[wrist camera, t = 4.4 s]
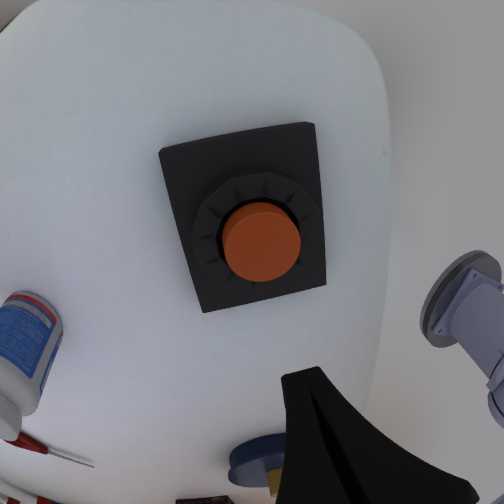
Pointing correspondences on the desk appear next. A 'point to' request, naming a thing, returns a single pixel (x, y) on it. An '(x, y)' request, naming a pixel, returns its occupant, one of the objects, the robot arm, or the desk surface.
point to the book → (44, 501)
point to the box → (207, 500)
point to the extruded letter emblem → (12, 501)
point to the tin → (257, 447)
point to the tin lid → (259, 471)
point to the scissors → (36, 446)
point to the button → (260, 242)
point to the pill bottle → (25, 357)
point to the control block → (242, 193)
